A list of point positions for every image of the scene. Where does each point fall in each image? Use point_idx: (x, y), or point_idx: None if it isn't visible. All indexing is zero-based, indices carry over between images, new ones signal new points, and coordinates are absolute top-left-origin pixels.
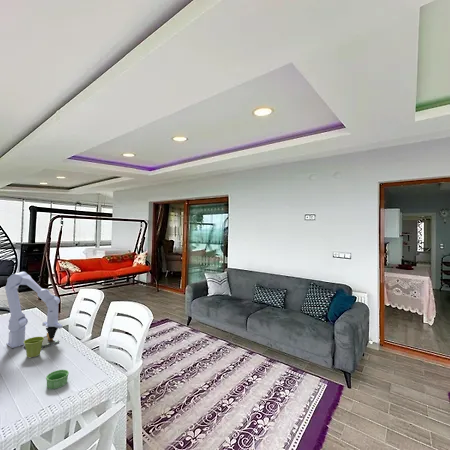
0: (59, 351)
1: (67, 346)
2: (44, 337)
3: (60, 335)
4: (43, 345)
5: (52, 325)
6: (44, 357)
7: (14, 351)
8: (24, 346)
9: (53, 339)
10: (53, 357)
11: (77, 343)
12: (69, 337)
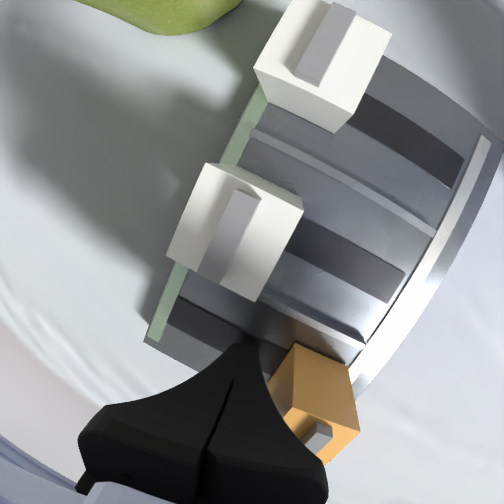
0: (16, 142)
1: (25, 255)
2: (220, 226)
3: None
4: None
5: (5, 493)
6: (61, 9)
7: (487, 41)
8: (481, 127)
9: None
10: (8, 47)
11: (13, 322)
12: None
